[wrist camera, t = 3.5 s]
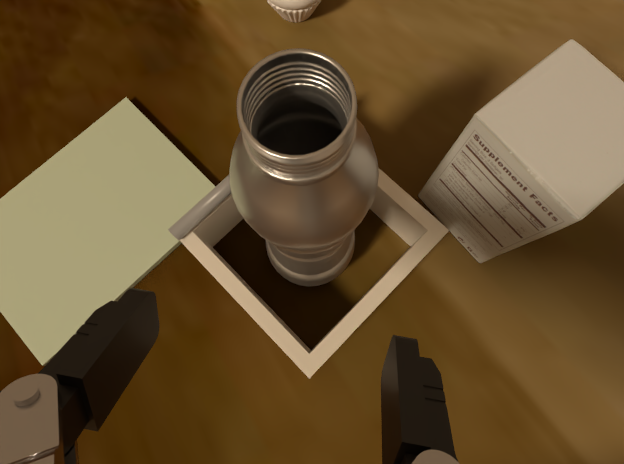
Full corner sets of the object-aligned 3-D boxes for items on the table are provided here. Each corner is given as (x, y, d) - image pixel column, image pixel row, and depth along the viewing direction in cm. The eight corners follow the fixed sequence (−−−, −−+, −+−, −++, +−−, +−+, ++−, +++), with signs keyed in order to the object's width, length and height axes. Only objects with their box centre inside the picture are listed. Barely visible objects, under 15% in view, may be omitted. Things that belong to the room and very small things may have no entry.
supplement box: (480, 144, 33) (575, 31, 20) (545, 210, 31) (691, 132, 19) (413, 195, 32) (472, 110, 19) (477, 267, 30) (584, 223, 18)
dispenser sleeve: (311, 140, 33) (309, 99, 27) (428, 246, 31) (454, 226, 25) (194, 247, 31) (165, 227, 25) (311, 370, 29) (308, 380, 23)
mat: (129, 101, 34) (126, 97, 34) (228, 200, 32) (226, 197, 31) (-47, 243, 31) (-54, 242, 31) (47, 364, 29) (42, 365, 28)
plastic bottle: (266, 288, 30) (171, 209, 11) (273, 204, 32) (200, 4, 12) (351, 292, 30) (409, 218, 10) (353, 207, 32) (406, 9, 12)
